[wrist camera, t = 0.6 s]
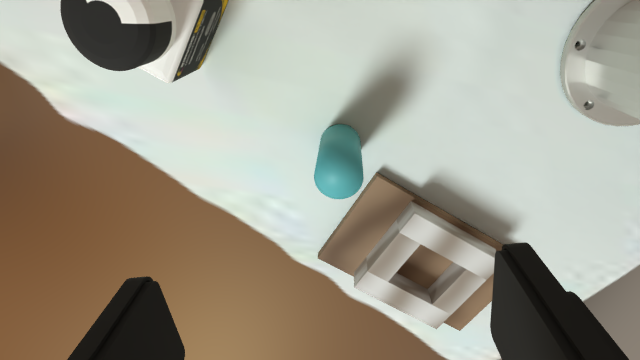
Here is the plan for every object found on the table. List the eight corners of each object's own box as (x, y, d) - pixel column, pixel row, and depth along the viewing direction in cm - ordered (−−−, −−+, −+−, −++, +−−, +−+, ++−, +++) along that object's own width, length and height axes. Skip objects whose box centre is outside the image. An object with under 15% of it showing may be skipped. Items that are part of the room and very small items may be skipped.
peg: (363, 127, 38) (367, 158, 31) (356, 164, 40) (358, 202, 32) (323, 121, 38) (317, 151, 31) (318, 158, 40) (311, 195, 32)
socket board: (527, 258, 43) (541, 279, 40) (457, 324, 48) (465, 347, 45) (376, 172, 40) (378, 187, 37) (318, 252, 45) (316, 272, 42)
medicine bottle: (200, 69, 37) (139, 101, 26) (128, 29, 35) (32, 45, 25) (230, -4, 34) (175, -2, 23) (153, -50, 32) (56, -72, 22)
